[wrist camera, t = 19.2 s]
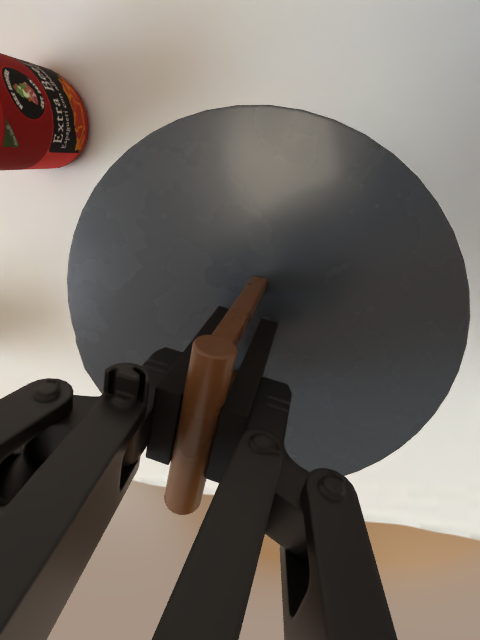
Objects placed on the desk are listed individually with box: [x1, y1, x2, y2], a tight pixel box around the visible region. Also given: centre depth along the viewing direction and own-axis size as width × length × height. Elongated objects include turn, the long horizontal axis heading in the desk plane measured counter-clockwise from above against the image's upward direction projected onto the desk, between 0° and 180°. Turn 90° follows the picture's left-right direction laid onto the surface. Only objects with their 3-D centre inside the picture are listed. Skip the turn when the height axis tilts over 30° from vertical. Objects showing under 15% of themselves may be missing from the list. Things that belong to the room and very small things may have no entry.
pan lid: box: [67, 105, 470, 515], centre depth 14 cm, size 19×19×9 cm
